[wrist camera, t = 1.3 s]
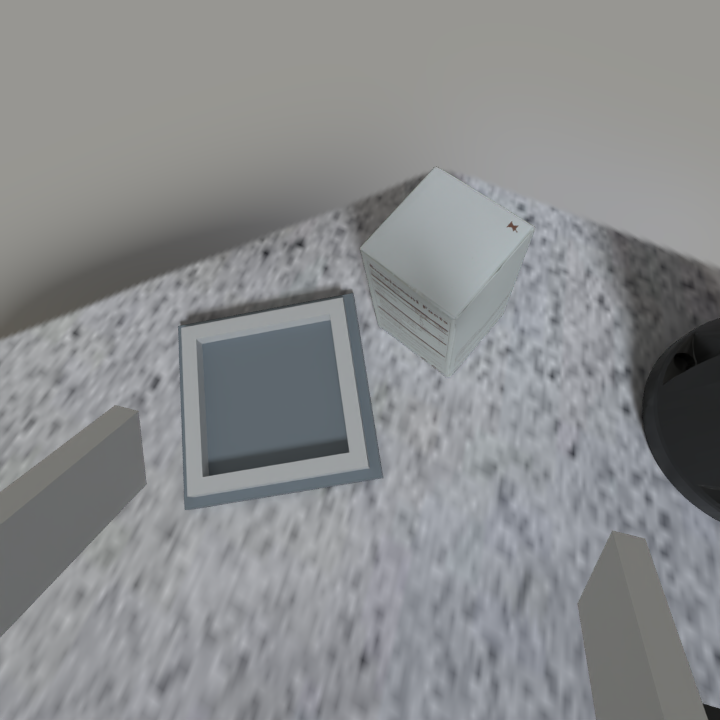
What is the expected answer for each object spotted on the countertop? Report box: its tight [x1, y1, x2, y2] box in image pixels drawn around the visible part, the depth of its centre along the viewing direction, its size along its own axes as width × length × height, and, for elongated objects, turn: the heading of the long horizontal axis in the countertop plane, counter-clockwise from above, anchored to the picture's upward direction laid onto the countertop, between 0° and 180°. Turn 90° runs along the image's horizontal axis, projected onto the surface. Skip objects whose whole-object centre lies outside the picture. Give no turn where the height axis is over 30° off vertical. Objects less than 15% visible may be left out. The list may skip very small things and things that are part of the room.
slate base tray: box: [178, 293, 383, 510], centre depth 39 cm, size 15×15×2 cm
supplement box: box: [360, 167, 535, 378], centre depth 34 cm, size 7×7×13 cm
